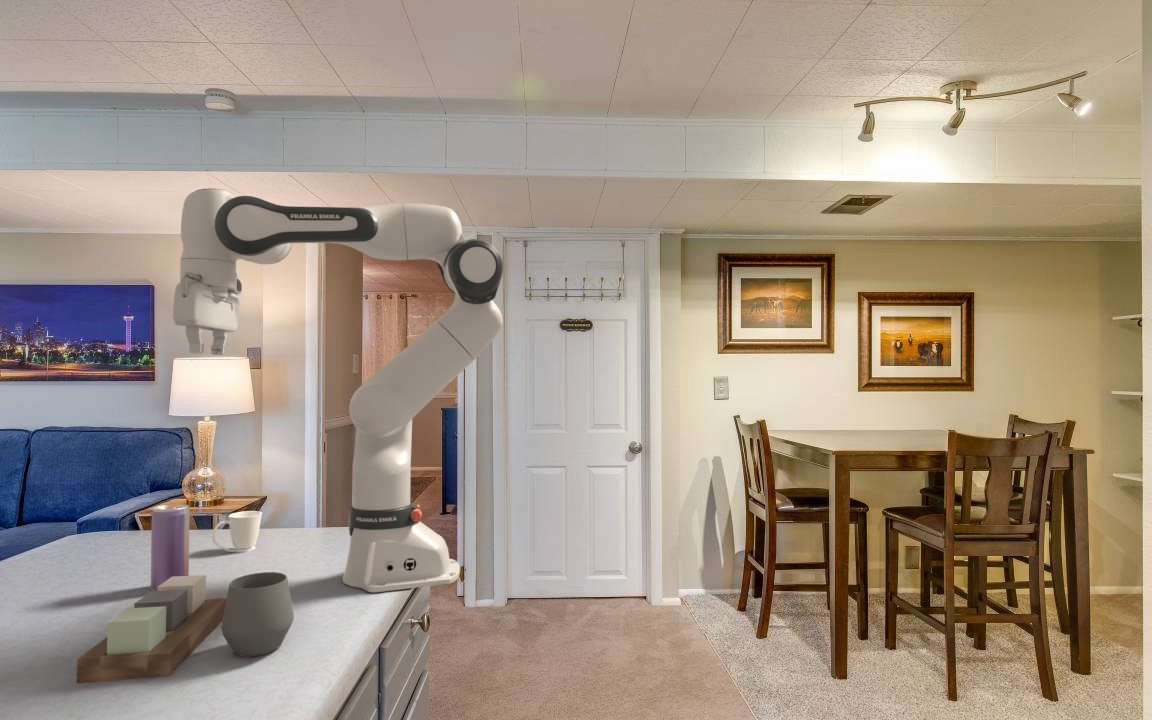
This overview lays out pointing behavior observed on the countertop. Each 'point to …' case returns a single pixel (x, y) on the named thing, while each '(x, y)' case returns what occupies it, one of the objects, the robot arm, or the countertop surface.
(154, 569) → the beverage can
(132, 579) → the countertop surface
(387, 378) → the robot arm
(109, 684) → the countertop surface
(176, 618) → the graphite key
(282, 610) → the cup
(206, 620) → the wooden tray
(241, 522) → the cup
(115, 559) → the countertop surface
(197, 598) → the ivory key
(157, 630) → the sage key
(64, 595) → the countertop surface
